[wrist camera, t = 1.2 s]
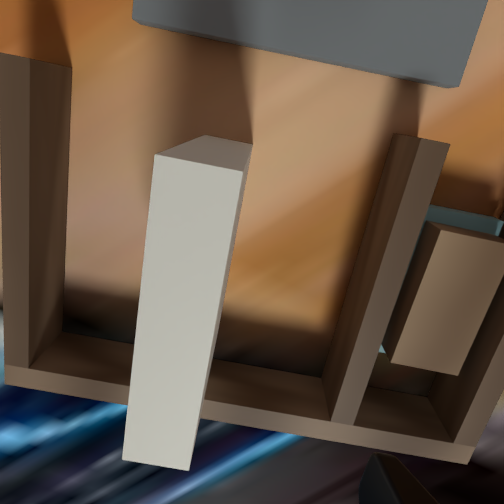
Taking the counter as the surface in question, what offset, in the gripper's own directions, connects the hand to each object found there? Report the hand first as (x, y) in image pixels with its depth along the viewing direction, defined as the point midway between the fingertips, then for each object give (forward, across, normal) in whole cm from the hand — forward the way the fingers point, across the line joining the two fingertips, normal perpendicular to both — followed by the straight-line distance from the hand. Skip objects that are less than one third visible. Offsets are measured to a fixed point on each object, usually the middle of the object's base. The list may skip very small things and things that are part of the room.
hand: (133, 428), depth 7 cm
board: (+11, 0, 0) cm, 11 cm away
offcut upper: (+10, -10, 0) cm, 14 cm away
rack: (+11, -3, 0) cm, 12 cm away
